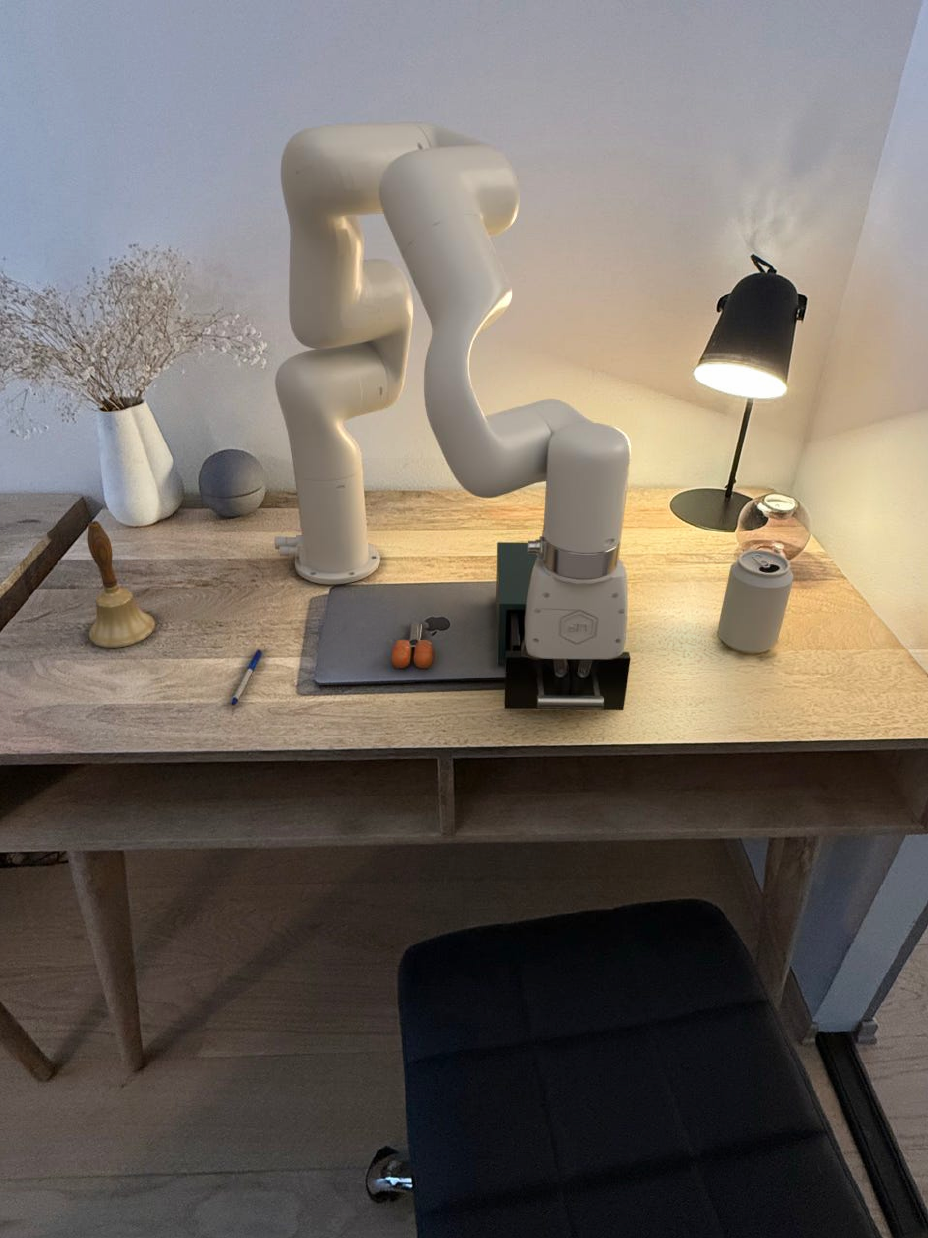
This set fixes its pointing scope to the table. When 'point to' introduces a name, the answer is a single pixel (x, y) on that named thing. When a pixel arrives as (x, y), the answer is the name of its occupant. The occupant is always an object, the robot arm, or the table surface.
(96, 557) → the hand bell
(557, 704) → the open black drawer
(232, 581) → the table surface
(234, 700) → the ballpoint pen
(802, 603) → the table surface
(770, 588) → the can
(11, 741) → the table surface
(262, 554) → the table surface
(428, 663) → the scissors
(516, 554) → the drawer cabinet
